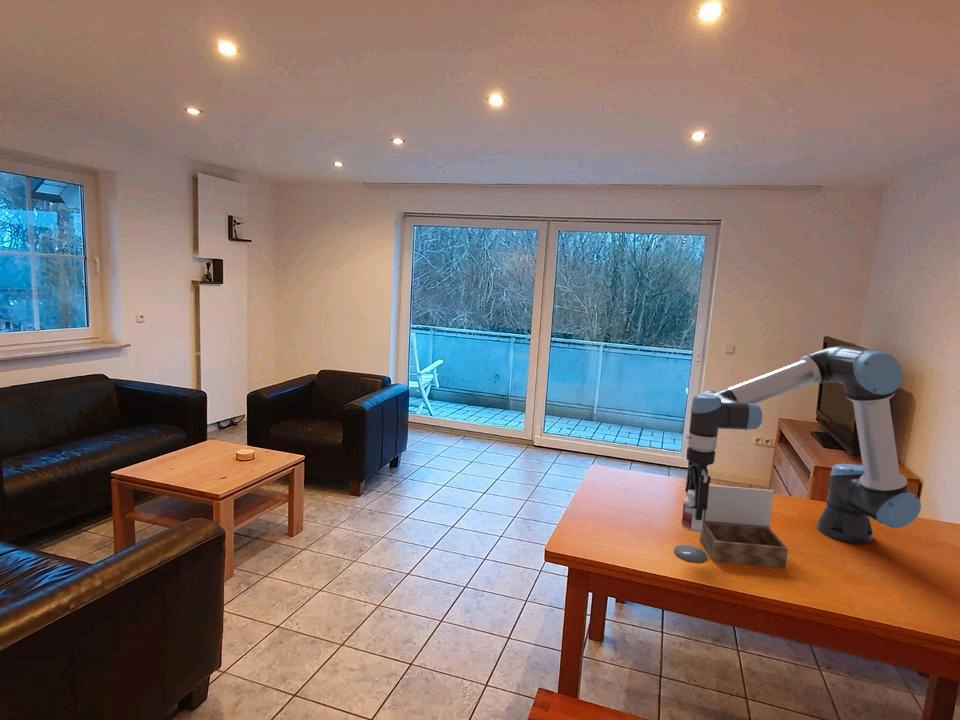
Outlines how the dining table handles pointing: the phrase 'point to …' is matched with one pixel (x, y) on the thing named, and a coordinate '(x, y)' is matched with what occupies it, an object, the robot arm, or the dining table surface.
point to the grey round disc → (690, 553)
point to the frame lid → (739, 506)
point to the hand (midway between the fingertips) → (692, 523)
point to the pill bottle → (690, 512)
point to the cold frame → (743, 545)
